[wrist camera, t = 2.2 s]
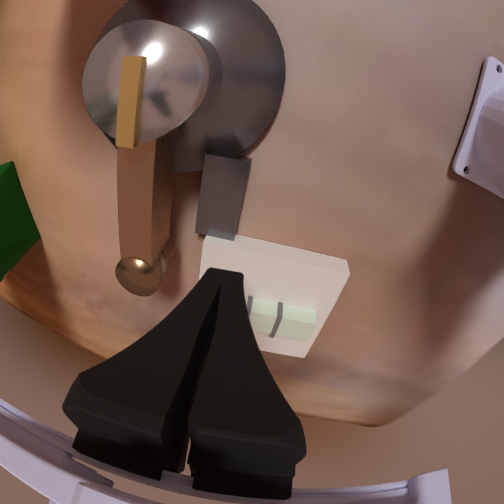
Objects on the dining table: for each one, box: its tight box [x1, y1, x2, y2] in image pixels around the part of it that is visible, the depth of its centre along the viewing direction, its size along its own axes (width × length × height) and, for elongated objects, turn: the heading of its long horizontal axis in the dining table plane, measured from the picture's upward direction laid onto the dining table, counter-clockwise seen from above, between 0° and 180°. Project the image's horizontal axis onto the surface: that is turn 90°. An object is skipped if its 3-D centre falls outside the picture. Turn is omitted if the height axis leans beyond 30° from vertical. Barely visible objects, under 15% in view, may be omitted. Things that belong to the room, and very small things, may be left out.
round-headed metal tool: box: [82, 20, 223, 296], centre depth 13 cm, size 14×5×5 cm, turn 168°
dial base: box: [95, 0, 285, 241], centre depth 14 cm, size 11×14×1 cm
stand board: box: [199, 234, 350, 358], centre depth 20 cm, size 9×9×4 cm
